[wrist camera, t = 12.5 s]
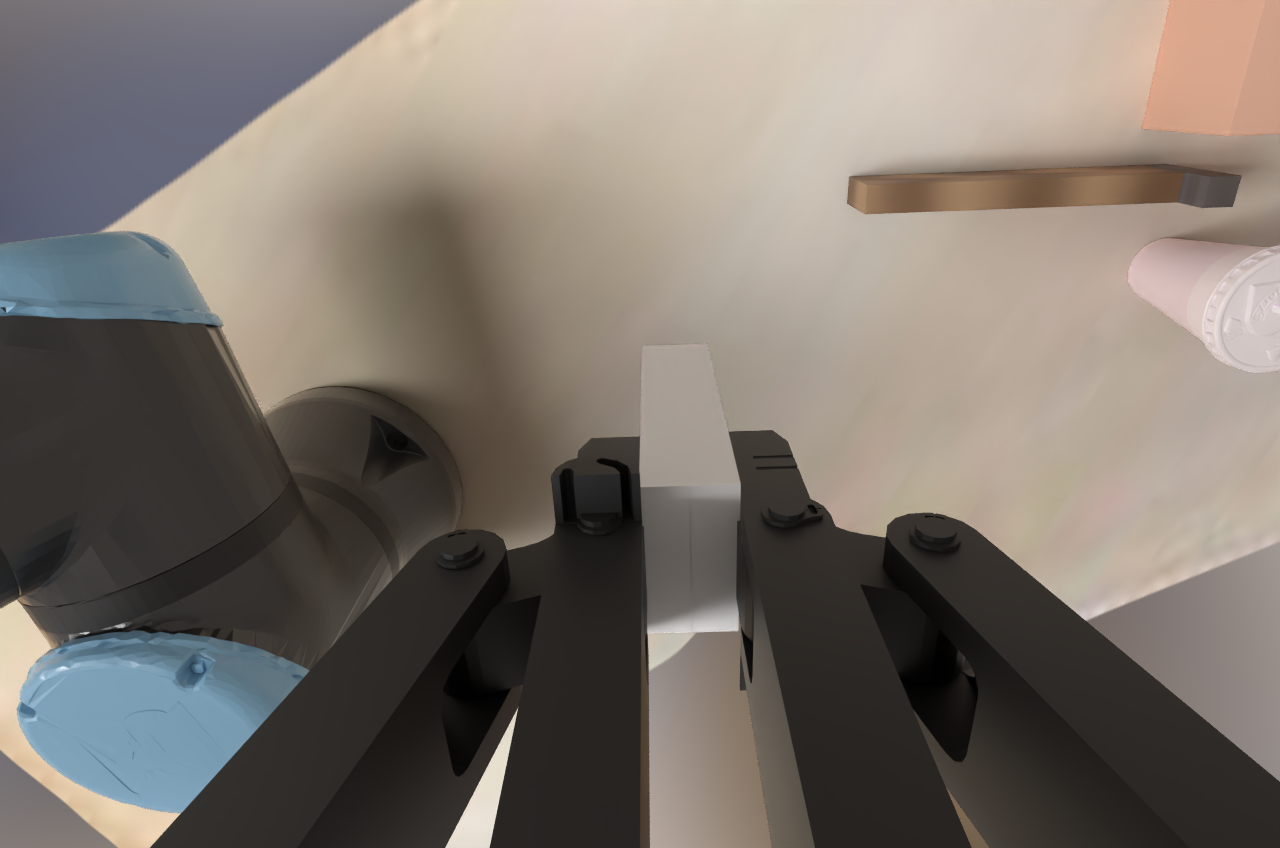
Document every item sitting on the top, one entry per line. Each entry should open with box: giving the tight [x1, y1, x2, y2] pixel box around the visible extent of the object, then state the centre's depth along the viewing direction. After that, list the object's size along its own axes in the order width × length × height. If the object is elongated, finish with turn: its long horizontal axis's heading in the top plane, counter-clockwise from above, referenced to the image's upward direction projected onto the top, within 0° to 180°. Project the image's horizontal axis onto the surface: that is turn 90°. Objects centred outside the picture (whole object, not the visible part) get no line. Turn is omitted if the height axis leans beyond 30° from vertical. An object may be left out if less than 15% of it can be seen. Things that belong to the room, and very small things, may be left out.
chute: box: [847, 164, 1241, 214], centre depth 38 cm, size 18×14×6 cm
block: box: [1142, 0, 1280, 136], centre depth 37 cm, size 7×7×7 cm
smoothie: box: [1128, 238, 1280, 373], centre depth 38 cm, size 6×6×14 cm
